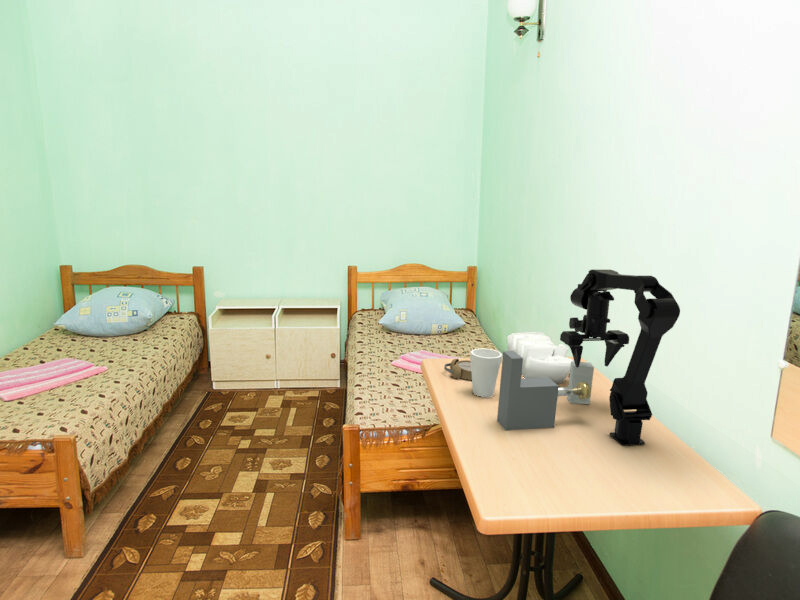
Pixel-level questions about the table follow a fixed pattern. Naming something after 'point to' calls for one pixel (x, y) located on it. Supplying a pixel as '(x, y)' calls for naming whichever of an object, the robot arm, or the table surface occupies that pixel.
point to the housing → (525, 397)
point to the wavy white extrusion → (540, 356)
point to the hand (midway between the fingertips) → (591, 366)
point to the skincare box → (580, 379)
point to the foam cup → (484, 371)
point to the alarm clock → (460, 369)
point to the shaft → (576, 391)
